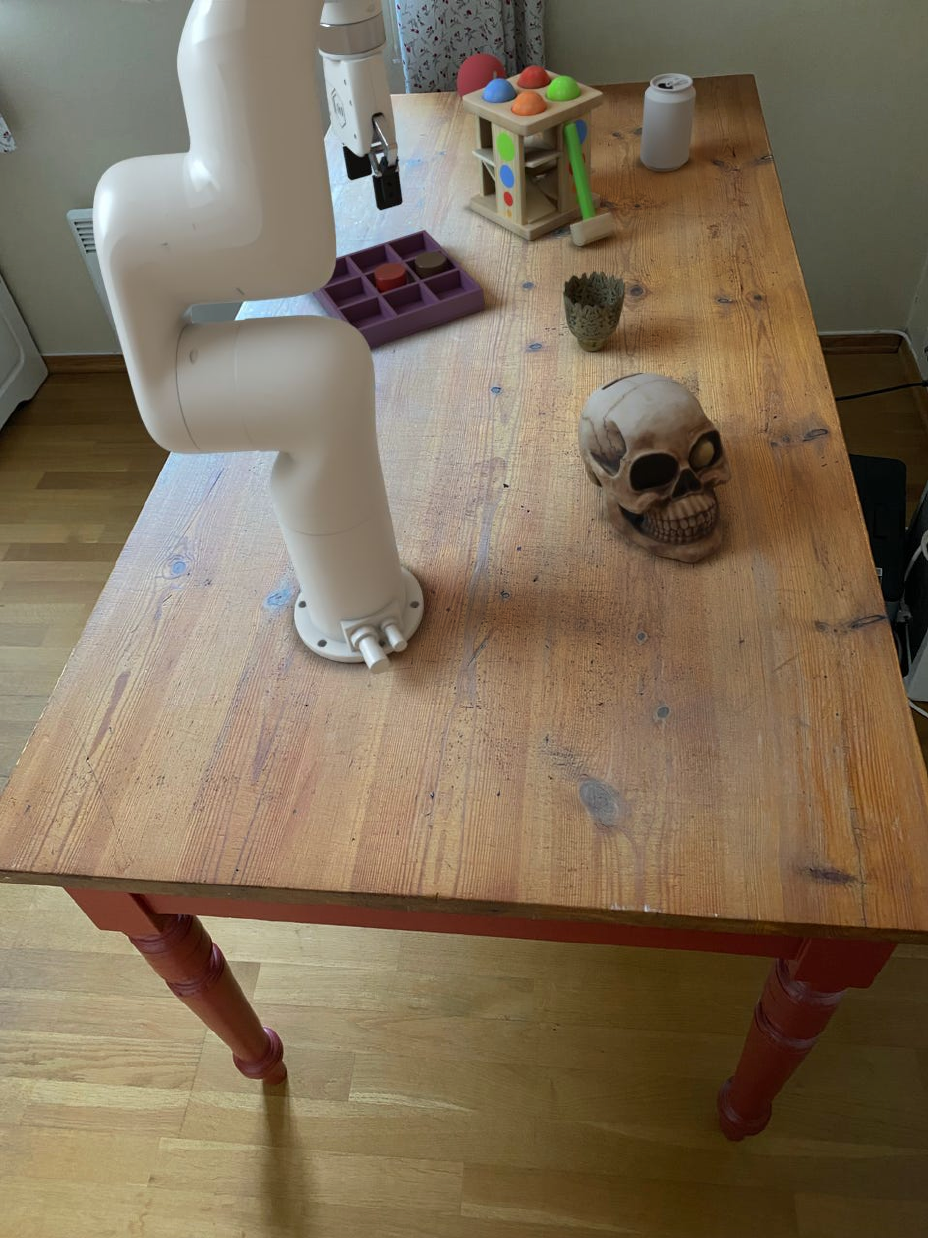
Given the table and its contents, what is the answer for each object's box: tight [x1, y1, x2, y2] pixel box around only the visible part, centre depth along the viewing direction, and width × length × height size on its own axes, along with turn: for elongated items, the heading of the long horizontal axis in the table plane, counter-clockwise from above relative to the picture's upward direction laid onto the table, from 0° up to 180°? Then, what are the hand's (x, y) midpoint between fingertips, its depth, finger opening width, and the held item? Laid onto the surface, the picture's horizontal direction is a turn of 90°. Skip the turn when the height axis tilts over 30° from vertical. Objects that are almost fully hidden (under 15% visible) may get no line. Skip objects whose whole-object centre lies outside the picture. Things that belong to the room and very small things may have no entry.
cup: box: [562, 270, 626, 352], centre depth 109 cm, size 8×7×8 cm
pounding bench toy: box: [462, 65, 615, 247], centre depth 126 cm, size 23×14×18 cm, turn 38°
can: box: [639, 72, 697, 173], centre depth 136 cm, size 8×8×12 cm
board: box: [311, 229, 485, 349], centre depth 121 cm, size 19×19×3 cm
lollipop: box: [456, 52, 507, 102], centre depth 141 cm, size 8×8×15 cm
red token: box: [374, 263, 407, 293], centre depth 120 cm, size 4×4×3 cm
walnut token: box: [415, 251, 447, 280], centre depth 122 cm, size 4×4×3 cm
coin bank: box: [577, 372, 733, 563], centre depth 90 cm, size 16×17×13 cm
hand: (374, 191), depth 110 cm, fingers open, 9 cm apart
